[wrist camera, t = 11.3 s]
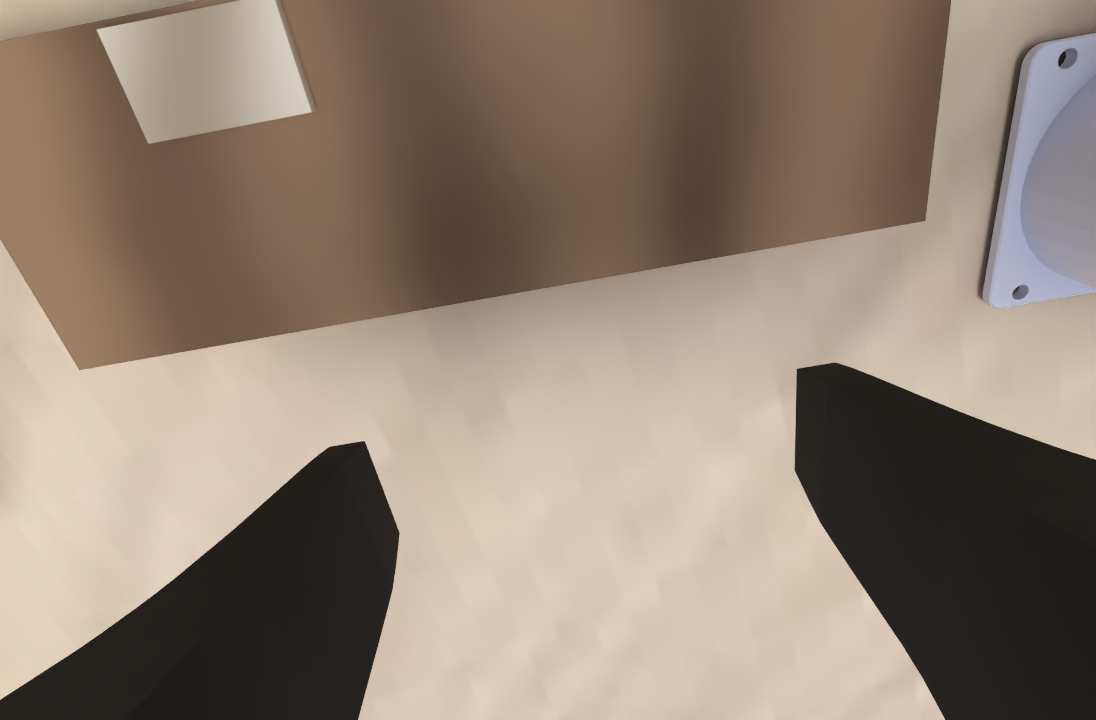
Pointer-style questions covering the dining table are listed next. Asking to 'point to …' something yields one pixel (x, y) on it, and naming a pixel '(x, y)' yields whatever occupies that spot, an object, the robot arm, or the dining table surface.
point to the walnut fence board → (440, 152)
